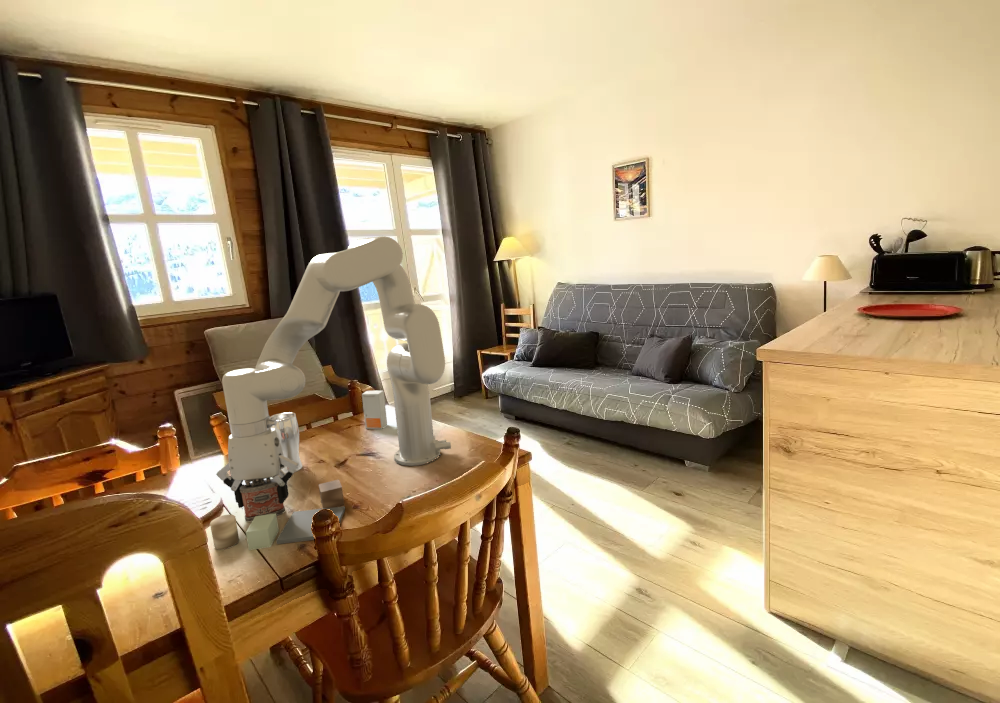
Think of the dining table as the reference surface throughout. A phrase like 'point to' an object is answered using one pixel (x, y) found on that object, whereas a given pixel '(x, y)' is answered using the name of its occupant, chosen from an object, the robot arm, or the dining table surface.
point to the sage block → (262, 531)
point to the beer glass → (288, 437)
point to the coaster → (303, 525)
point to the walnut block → (331, 494)
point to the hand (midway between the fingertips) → (263, 502)
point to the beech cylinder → (224, 532)
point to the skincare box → (374, 409)
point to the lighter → (261, 498)
